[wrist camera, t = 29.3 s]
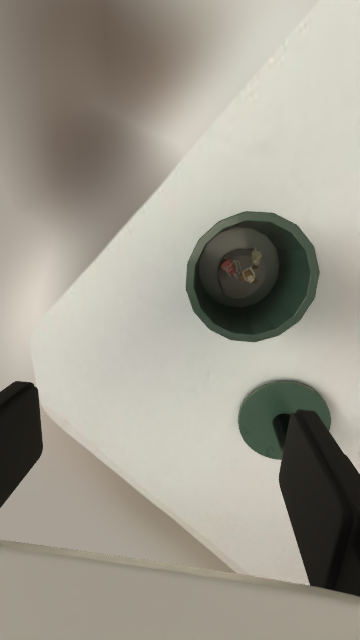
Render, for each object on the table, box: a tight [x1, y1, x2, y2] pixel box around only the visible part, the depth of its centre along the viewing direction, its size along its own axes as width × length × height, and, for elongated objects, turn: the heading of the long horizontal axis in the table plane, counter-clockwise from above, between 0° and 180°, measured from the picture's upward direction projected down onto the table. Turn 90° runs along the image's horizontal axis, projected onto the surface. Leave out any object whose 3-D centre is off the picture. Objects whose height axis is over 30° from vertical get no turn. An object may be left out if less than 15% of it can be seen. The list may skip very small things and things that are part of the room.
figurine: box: [218, 248, 266, 299], centre depth 26 cm, size 5×4×6 cm
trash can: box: [186, 211, 319, 342], centre depth 24 cm, size 9×9×10 cm
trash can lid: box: [238, 381, 331, 460], centre depth 30 cm, size 10×10×7 cm
